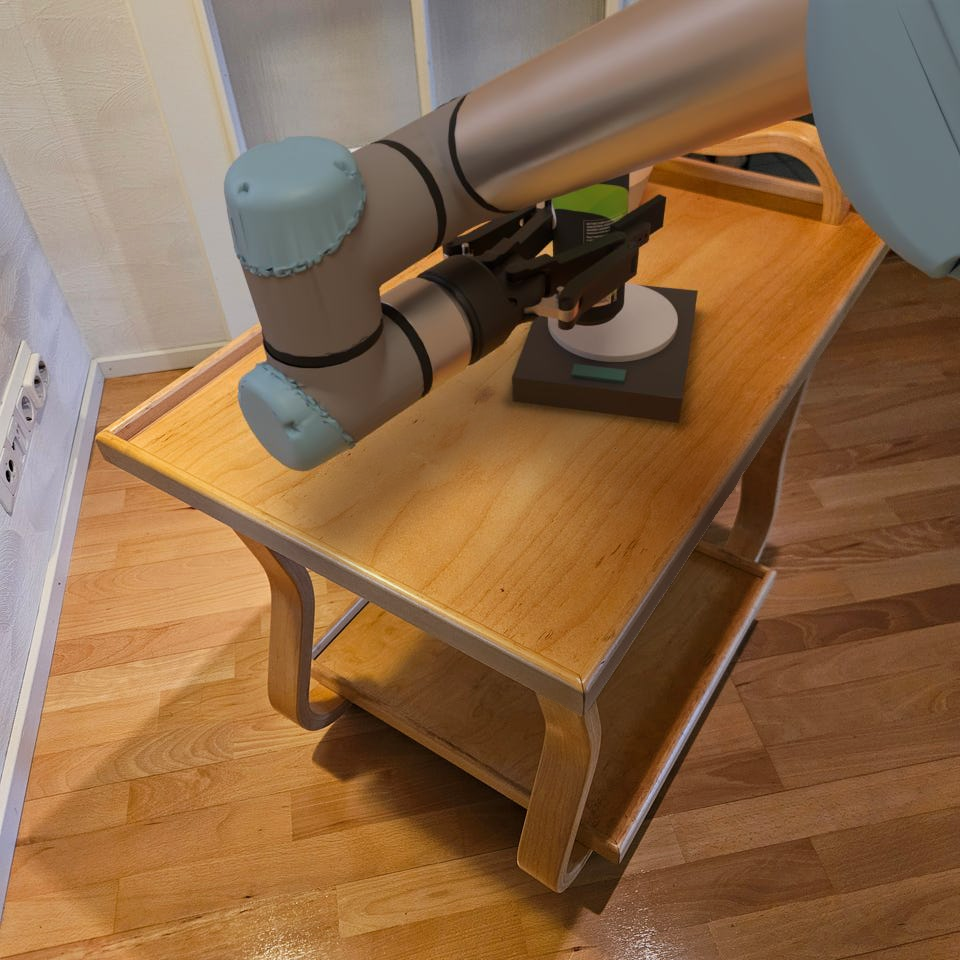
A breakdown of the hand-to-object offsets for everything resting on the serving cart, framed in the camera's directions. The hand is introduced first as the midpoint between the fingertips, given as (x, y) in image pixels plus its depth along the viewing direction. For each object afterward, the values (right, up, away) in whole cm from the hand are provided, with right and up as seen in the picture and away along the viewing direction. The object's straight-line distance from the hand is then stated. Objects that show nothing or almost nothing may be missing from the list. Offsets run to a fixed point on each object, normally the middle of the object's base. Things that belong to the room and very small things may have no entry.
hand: (635, 201), depth 71 cm
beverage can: (-4, -9, +4) cm, 10 cm away
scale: (0, -11, +14) cm, 18 cm away
